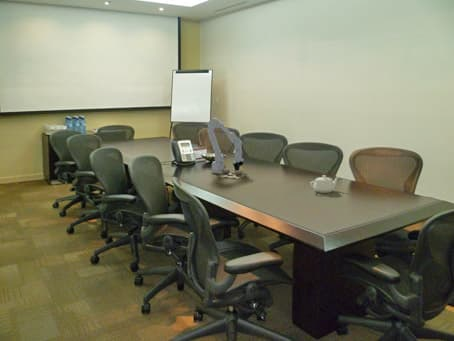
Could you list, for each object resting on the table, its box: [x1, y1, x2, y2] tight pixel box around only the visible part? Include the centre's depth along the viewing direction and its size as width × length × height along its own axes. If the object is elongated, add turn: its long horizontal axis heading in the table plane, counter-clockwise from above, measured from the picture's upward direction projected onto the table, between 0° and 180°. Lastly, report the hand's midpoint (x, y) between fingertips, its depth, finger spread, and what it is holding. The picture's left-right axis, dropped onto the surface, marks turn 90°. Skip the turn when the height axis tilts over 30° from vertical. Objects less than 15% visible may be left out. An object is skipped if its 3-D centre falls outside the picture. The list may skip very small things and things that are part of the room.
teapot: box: [309, 174, 340, 194], centre depth 266 cm, size 22×14×11 cm, turn 111°
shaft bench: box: [217, 168, 247, 180], centre depth 313 cm, size 17×14×5 cm
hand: (238, 171), depth 326 cm, fingers closed on coupler, 4 cm apart
